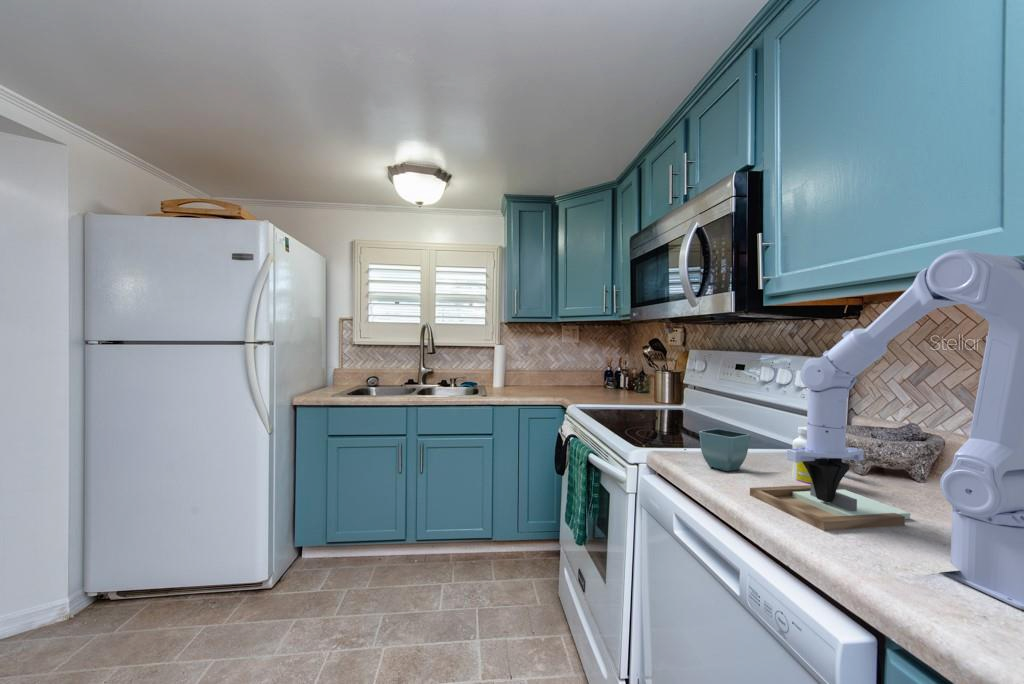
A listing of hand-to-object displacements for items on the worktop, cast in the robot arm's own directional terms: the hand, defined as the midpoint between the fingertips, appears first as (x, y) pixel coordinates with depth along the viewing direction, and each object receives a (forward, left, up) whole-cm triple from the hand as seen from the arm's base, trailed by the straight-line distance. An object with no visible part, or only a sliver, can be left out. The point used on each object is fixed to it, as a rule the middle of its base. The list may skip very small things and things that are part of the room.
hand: (824, 500), depth 78 cm
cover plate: (0, -5, -2) cm, 5 cm away
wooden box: (0, +1, -3) cm, 3 cm away
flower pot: (+30, -2, -3) cm, 30 cm away
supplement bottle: (+15, -12, -3) cm, 20 cm away
